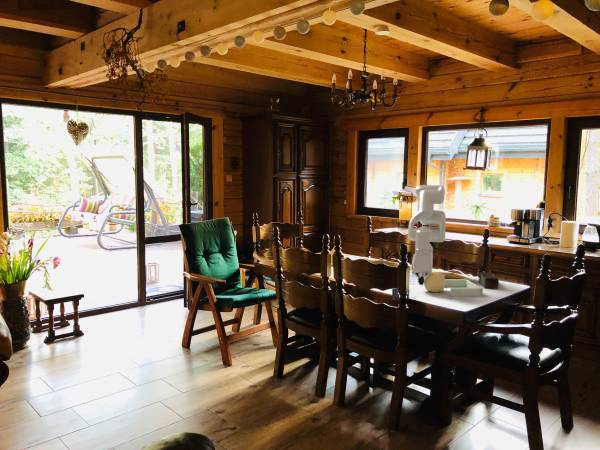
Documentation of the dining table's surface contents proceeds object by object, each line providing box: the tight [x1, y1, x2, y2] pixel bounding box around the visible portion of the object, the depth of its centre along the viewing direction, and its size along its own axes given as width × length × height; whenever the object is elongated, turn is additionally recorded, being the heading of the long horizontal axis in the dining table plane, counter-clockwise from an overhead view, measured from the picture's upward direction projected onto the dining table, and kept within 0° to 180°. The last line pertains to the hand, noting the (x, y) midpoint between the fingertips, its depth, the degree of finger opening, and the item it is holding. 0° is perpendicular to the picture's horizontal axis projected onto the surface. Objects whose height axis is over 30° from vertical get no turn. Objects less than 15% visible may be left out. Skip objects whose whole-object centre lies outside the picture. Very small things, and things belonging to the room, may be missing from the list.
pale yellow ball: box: [423, 271, 446, 293], centre depth 273 cm, size 11×12×11 cm
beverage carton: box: [478, 271, 500, 290], centre depth 288 cm, size 8×19×7 cm, turn 169°
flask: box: [391, 288, 410, 301], centre depth 255 cm, size 9×3×11 cm, turn 96°
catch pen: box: [444, 278, 484, 297], centre depth 274 cm, size 22×17×4 cm
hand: (421, 284), depth 272 cm, fingers closed
